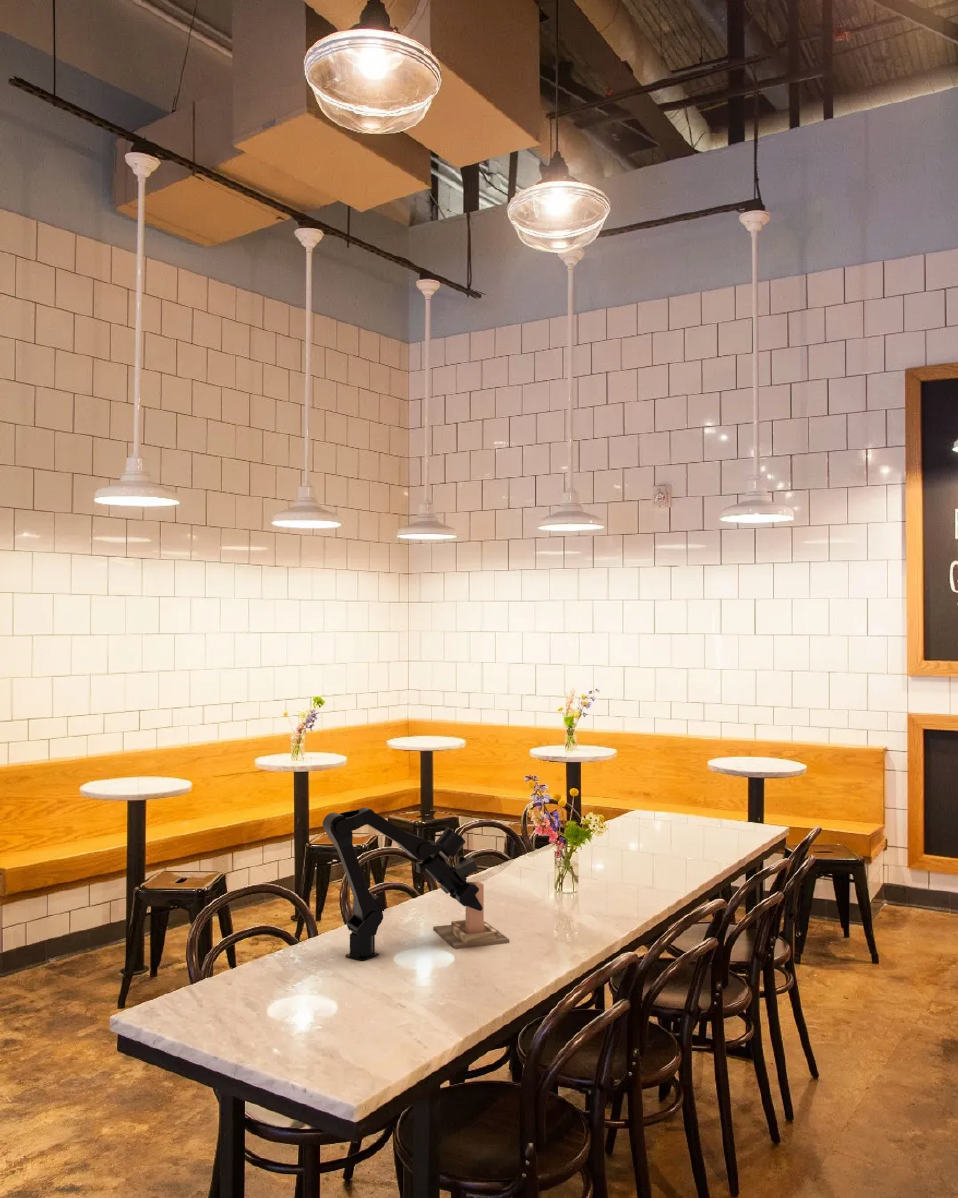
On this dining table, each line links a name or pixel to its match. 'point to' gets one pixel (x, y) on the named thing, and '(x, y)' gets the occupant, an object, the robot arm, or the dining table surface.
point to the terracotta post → (476, 913)
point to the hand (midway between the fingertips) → (479, 907)
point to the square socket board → (469, 935)
